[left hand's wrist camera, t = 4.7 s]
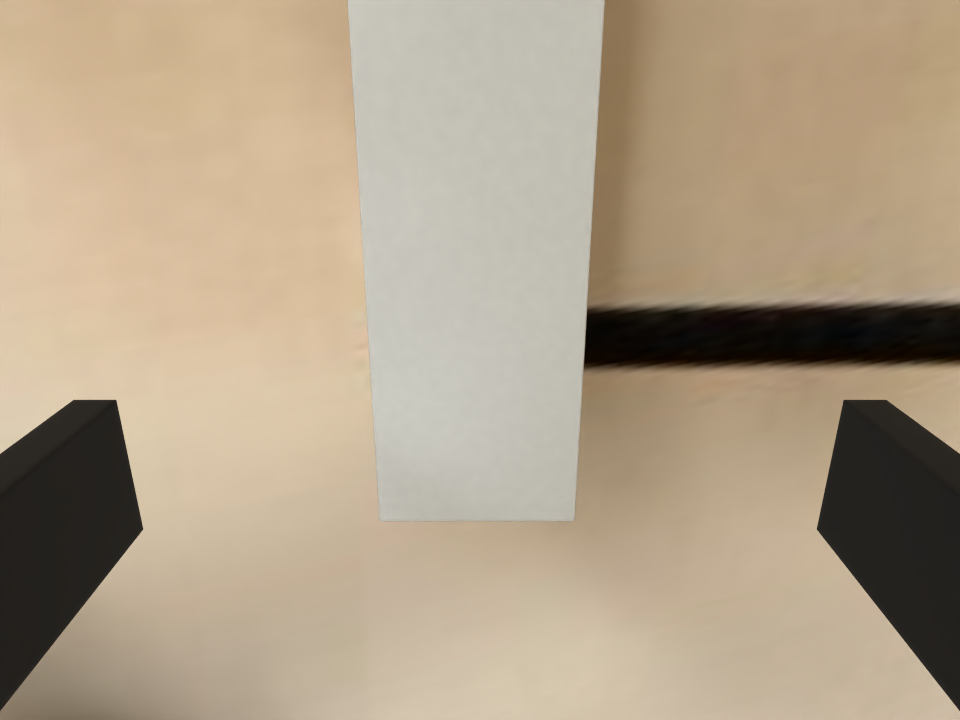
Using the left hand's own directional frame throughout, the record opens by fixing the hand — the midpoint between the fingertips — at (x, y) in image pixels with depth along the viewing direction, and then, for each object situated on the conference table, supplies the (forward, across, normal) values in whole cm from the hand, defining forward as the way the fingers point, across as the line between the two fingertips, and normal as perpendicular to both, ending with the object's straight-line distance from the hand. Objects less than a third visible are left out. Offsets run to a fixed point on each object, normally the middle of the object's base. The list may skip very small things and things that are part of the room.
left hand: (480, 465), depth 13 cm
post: (+14, 0, -34) cm, 36 cm away
